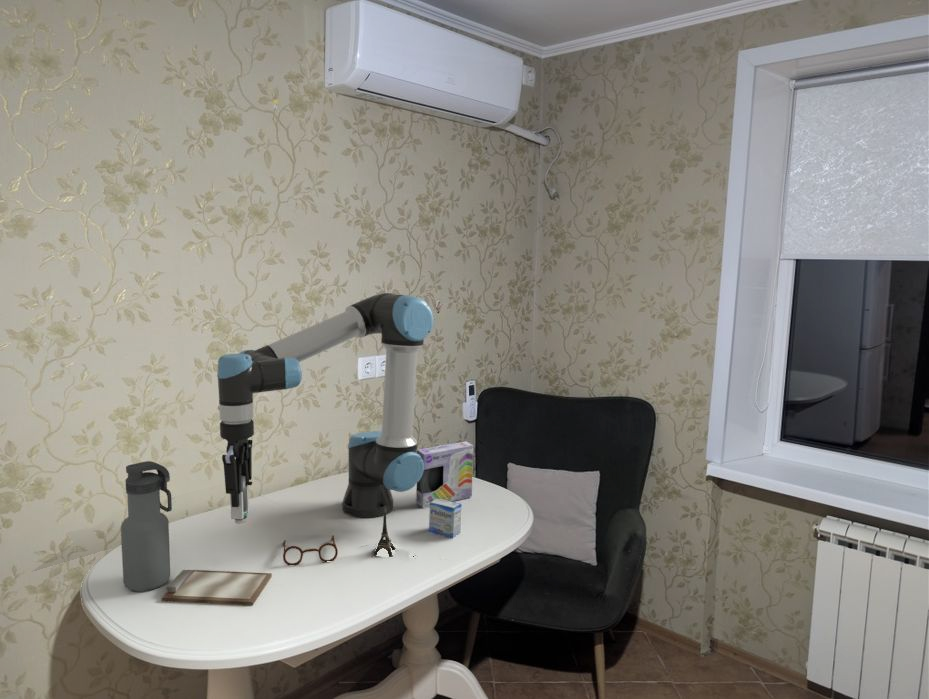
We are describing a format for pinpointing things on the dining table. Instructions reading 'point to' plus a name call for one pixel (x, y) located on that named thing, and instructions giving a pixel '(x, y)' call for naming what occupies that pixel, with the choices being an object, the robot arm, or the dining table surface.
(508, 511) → the dining table surface
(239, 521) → the marker
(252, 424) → the robot arm
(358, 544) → the dining table surface
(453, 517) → the medicine box
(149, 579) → the water bottle
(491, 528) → the dining table surface
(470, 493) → the cake pan box
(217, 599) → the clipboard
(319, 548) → the glasses
